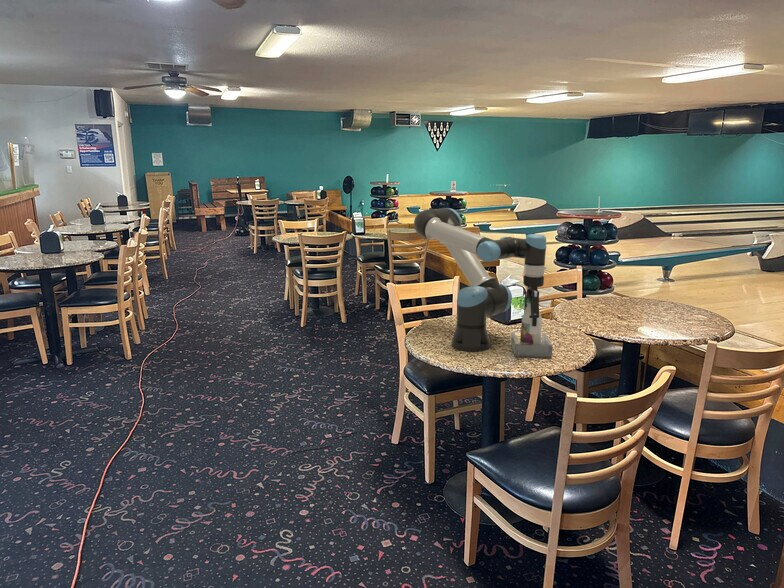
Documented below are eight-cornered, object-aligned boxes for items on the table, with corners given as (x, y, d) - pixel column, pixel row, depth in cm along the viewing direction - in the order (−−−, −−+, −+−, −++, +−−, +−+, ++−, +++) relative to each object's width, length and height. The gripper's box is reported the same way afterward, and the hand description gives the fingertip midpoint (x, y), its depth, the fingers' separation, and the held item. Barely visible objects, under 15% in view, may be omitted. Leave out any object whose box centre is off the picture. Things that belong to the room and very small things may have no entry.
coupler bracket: (515, 357, 198) (516, 344, 197) (510, 343, 213) (511, 332, 212) (551, 358, 196) (552, 345, 195) (544, 344, 212) (545, 332, 211)
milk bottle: (532, 344, 211) (535, 295, 206) (544, 349, 204) (547, 300, 199) (516, 345, 209) (518, 297, 204) (527, 352, 201) (530, 301, 197)
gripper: (549, 282, 187) (545, 338, 192) (538, 269, 211) (535, 320, 216) (528, 281, 188) (524, 338, 193) (519, 269, 212) (517, 319, 217)
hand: (530, 328), depth 205 cm, fingers open, 13 cm apart
